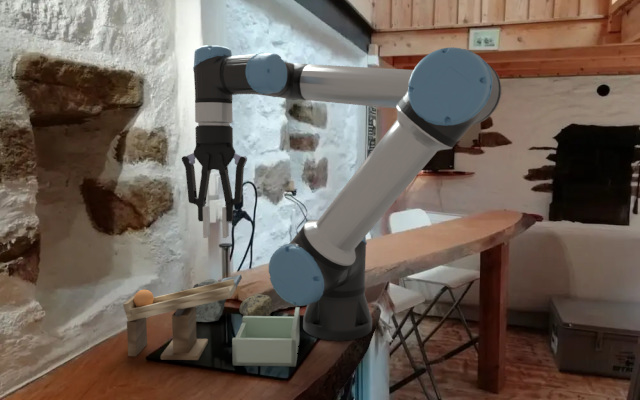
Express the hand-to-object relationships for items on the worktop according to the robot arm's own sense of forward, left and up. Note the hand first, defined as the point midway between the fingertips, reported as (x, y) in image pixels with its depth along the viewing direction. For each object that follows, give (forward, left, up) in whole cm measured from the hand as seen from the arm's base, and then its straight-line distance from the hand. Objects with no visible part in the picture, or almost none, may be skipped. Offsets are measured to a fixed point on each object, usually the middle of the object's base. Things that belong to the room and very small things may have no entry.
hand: (216, 236), depth 107 cm
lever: (+4, +8, -12) cm, 15 cm away
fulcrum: (+7, +11, -21) cm, 24 cm away
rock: (-7, -10, -21) cm, 24 cm away
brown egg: (+12, +11, -10) cm, 19 cm away
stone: (+4, -7, -21) cm, 22 cm away
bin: (-12, +11, -21) cm, 26 cm away
